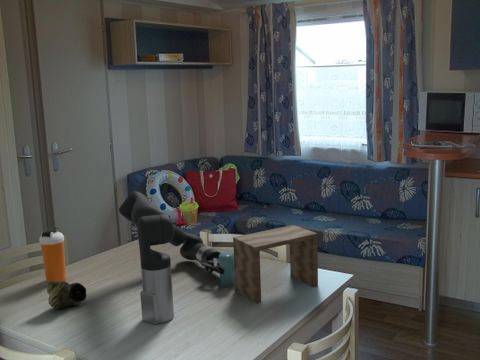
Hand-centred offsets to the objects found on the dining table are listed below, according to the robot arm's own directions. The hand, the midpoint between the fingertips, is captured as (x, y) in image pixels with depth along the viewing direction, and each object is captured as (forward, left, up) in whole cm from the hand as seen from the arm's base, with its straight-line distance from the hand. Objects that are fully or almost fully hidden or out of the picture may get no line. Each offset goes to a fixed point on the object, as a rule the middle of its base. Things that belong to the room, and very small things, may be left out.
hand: (230, 269), depth 191 cm
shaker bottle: (-32, +61, -6) cm, 69 cm away
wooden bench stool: (+7, -15, -6) cm, 18 cm away
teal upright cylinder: (+1, +2, -6) cm, 6 cm away
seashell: (-45, +35, -6) cm, 57 cm away
